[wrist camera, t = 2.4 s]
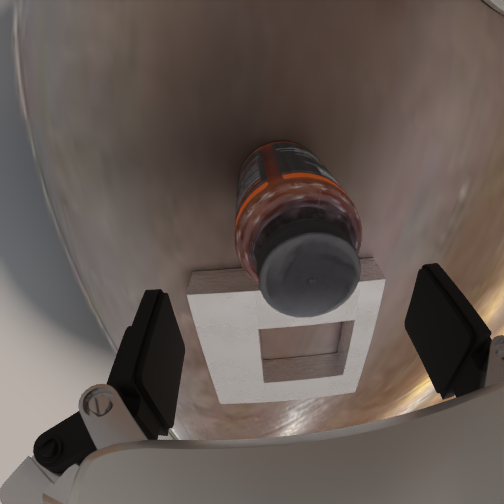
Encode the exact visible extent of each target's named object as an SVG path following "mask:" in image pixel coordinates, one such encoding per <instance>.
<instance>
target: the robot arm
mask: <svg viewBox="0 0 504 504" xmlns="http://www.w3.org/2000/svg"><path fill="white" fill-rule="evenodd" d="M483 1H484V2H486V3H487V4H488V5H489V6H491V7H492V8H493V9H494V10H496V11H498V12H499V13H501V14H503V15H504V0H483ZM405 329H406V331H407V333H408V335H409V337H410V339H411V340H412V342H413V344H414V346H415V348H416V350H417V352H418V354H419V356H420V358H421V360H422V362H423V365H424V367H425V369H426V371H427V373H428V375H429V377H430V379H431V381H432V384H433V386H434V388H435V390H436V392H437V393H440V394H441V397H442V399H443V400H444V399H446V398H449V397H452V396H454V395H456V398H454V399H451V400H448V401H445V402H442V403H439V404H436V405H433V406H430V407H427V408H424V409H420V410H417V411H414V412H410V413H407V414H403V415H399V416H395V417H391V418H387V419H383V420H379V421H375V422H371V423H366V424H361V425H356V426H351V427H346V428H341V429H335V430H329V431H322V432H316V433H308V434H301V435H292V436H283V437H272V438H258V439H239V440H157V439H158V435H163V436H168V430H169V428H173V425H174V419H175V412H176V405H177V398H178V392H179V385H180V379H181V373H182V367H183V361H184V355H185V346H184V342H183V339H182V336H181V333H180V330H179V327H178V324H177V321H176V318H175V315H174V312H173V309H172V305H171V302H170V299H169V296H168V294H167V293H163V291H162V290H161V289H156V290H146V291H145V293H144V295H143V298H142V300H141V303H140V305H139V308H138V311H137V313H136V316H135V318H134V321H133V324H132V326H129V327H127V329H126V331H125V333H124V336H123V339H122V341H121V344H120V347H119V350H118V352H117V355H116V358H115V361H114V364H113V367H112V369H111V372H110V375H109V378H108V381H107V384H97V385H94V386H91V387H90V388H88V389H87V390H86V391H85V392H84V393H83V394H82V395H81V398H80V400H79V411H78V412H77V413H75V414H73V415H72V416H70V417H69V418H67V419H65V420H64V421H62V422H60V423H59V424H57V425H56V426H54V427H52V428H51V429H49V430H47V431H46V432H44V433H43V434H41V435H40V436H39V437H38V438H37V440H36V441H35V444H34V449H33V453H34V456H33V457H32V458H31V457H29V456H28V457H27V458H26V459H25V460H24V461H23V462H22V464H21V465H20V466H19V467H18V468H17V469H16V470H15V471H14V472H13V474H12V475H11V476H10V477H9V478H8V479H7V480H6V481H5V482H4V484H3V485H2V487H1V488H0V500H1V502H2V504H504V336H503V335H501V336H497V337H494V339H493V340H492V339H491V338H490V335H491V331H490V330H489V328H488V327H487V326H486V324H485V323H484V321H483V320H482V319H481V317H480V316H479V315H478V313H477V312H476V310H475V309H474V308H473V306H472V305H471V304H470V303H469V301H468V300H467V299H466V297H465V296H464V295H463V293H462V292H461V291H460V290H459V288H458V287H457V286H456V285H455V283H454V282H453V281H452V280H451V279H450V277H449V276H448V275H447V274H446V273H445V271H444V270H443V269H442V268H441V267H440V265H439V264H437V263H433V264H425V265H423V266H422V269H420V270H419V271H418V275H417V279H416V283H415V287H414V291H413V294H412V298H411V301H410V305H409V308H408V312H407V315H406V318H405Z"/></svg>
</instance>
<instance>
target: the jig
mask: <svg viewBox="0 0 504 504" xmlns="http://www.w3.org/2000/svg"><path fill="white" fill-rule="evenodd" d="M359 260H360V264H361V274H360V281H359V282H358V285H357V287H356V289H355V291H354V292H353V294H352V295H351V296H350V298H349V299H348V300H347V301H346V302H345V303H343V304H342V305H341V306H339V307H338V308H337V309H335V310H332V311H331V312H328V313H326V314H323V315H320V316H315V317H306V318H298V317H292V316H288V315H285V314H283V313H280V312H278V311H277V310H275V309H274V308H272V307H271V306H270V305H269V304H268V303H267V302H266V300H265V299H264V298H263V295H262V293H261V291H260V287H259V284H258V283H256V282H255V281H254V280H253V279H252V278H251V277H250V276H249V275H248V274H247V273H246V271H245V270H244V268H235V269H221V270H206V271H193V272H192V276H191V280H190V284H189V288H188V292H187V298H188V302H189V305H190V309H191V312H192V316H193V319H194V323H195V326H196V330H197V333H198V336H199V340H200V343H201V346H202V349H203V353H204V356H205V359H206V362H207V365H208V368H209V371H210V374H211V378H212V381H213V384H214V387H215V390H216V392H217V395H218V398H219V401H220V404H230V403H258V402H274V401H287V400H298V399H308V398H316V397H324V396H332V395H339V394H346V393H352V392H355V391H356V388H357V385H358V382H359V379H360V376H361V372H362V369H363V366H364V363H365V359H366V356H367V353H368V349H369V346H370V342H371V338H372V335H373V331H374V327H375V323H376V319H377V315H378V311H379V307H380V303H381V298H382V294H383V289H384V285H385V280H386V279H385V277H384V275H383V273H382V272H381V270H380V268H379V266H378V265H377V263H376V261H375V259H374V258H362V259H359ZM341 321H343V324H342V330H341V336H340V342H339V347H338V353H332V354H323V355H314V356H305V357H294V358H283V359H270V360H263V356H262V346H261V336H260V329H267V328H280V327H292V326H303V325H314V324H323V323H333V322H341Z"/></svg>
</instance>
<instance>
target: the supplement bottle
mask: <svg viewBox="0 0 504 504" xmlns="http://www.w3.org/2000/svg"><path fill="white" fill-rule="evenodd" d="M361 241H362V227H361V221H360V218H359V215H358V212H357V210H356V208H355V206H354V204H353V203H352V201H351V200H350V198H349V197H348V196H347V194H346V193H345V192H344V190H343V189H342V188H341V186H340V185H339V184H338V183H337V181H336V180H335V179H334V178H333V176H332V175H331V174H330V173H329V171H328V170H327V169H326V168H325V166H324V165H323V164H322V163H321V162H320V161H319V159H318V158H317V157H316V156H315V155H314V154H313V153H312V152H310V151H309V150H308V149H306V148H305V147H303V146H301V145H298V144H296V143H292V142H287V141H280V142H273V143H269V144H266V145H264V146H262V147H260V148H258V149H256V150H255V151H254V152H253V153H252V154H251V155H250V156H249V157H248V158H247V159H246V161H245V162H244V164H243V166H242V168H241V171H240V174H239V179H238V191H237V205H236V221H235V246H236V251H237V255H238V258H239V261H240V263H241V265H242V266H243V268H244V270H245V271H246V273H247V274H248V275H249V276H250V277H251V278H252V279H253V280H254V281H255V282H256V283H258V284H259V287H260V291H261V293H262V295H263V298H264V299H265V300H266V302H267V303H268V304H269V305H270V306H271V307H272V308H274V309H275V310H277V311H278V312H280V313H283V314H285V315H288V316H292V317H298V318H306V317H315V316H320V315H323V314H326V313H328V312H331V311H332V310H335V309H337V308H338V307H339V306H341V305H342V304H343V303H345V302H346V301H347V300H348V299H349V298H350V296H351V295H352V294H353V292H354V291H355V289H356V287H357V285H358V282H359V281H360V274H361V264H360V260H359V257H358V253H359V250H360V247H361Z"/></svg>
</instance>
